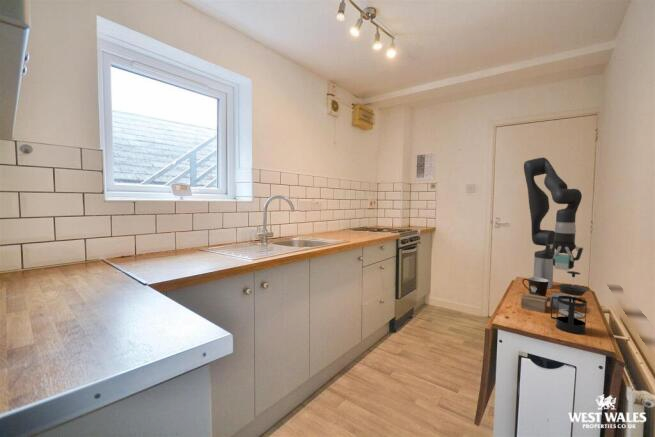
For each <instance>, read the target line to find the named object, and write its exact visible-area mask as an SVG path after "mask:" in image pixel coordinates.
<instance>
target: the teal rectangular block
mask: <svg viewBox="0 0 655 437" xmlns="http://www.w3.org/2000/svg"><path fill="white" fill-rule="evenodd" d="M569 264H570V257H569V256H568V254H564V253H559V255H556V256H555V267H554V270H562V271H566V272H568V271H569V270H570V269H569Z"/></svg>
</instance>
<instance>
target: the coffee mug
mask: <svg viewBox="0 0 655 437" xmlns="http://www.w3.org/2000/svg"><path fill="white" fill-rule="evenodd" d="M525 280H526V281H528V287H527V285H525V283H524V281H525ZM548 282H549V280H547V279H543V278H537V277H532V276H531V277H528V278H523V279H522V281H521V283H522V285H523V286H524V288H526V289H527V290H528V291H529V294H533V295H538V296H544V297H547V296H546V295H547V293H548V292H547V291H548V289H547V287H548Z"/></svg>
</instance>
